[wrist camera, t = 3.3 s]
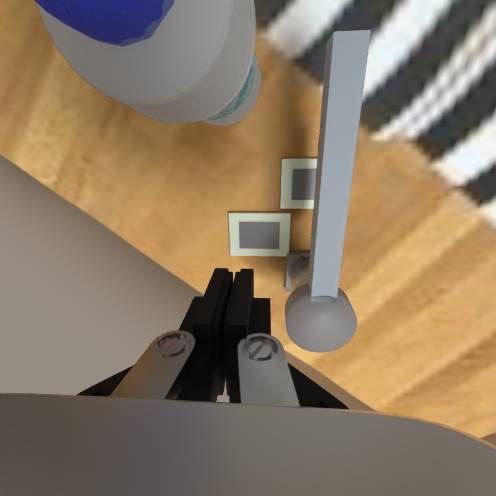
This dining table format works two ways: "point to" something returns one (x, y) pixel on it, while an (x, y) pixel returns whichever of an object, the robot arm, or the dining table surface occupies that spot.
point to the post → (296, 269)
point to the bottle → (163, 54)
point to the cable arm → (331, 201)
